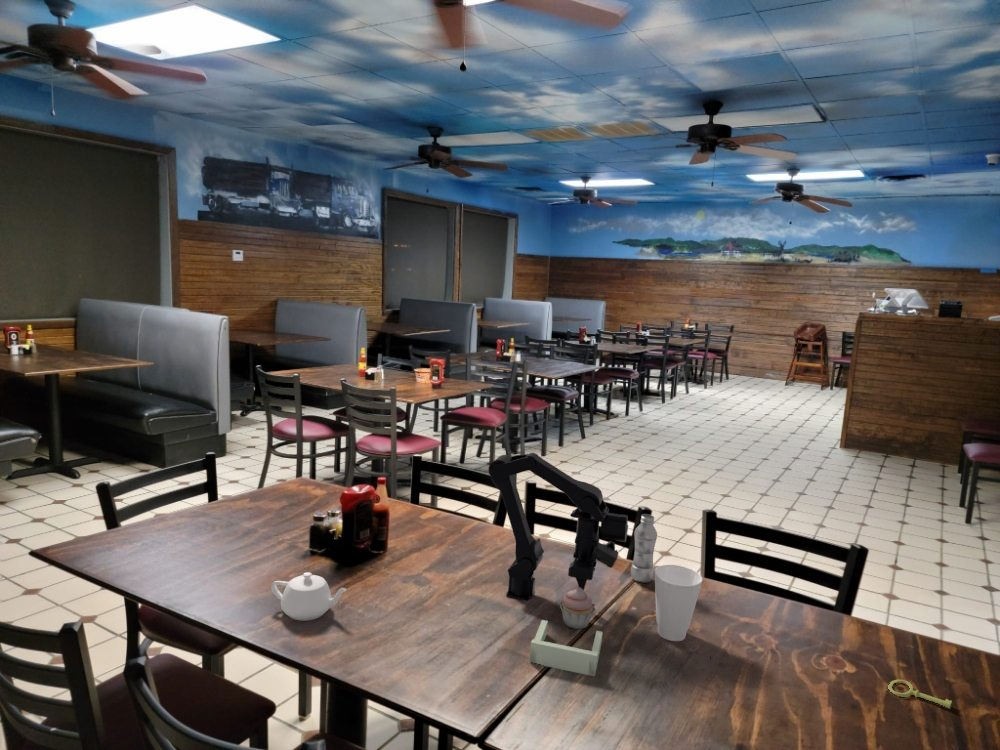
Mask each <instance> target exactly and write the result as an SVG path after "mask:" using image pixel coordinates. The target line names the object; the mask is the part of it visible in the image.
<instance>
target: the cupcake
mask: <svg viewBox="0 0 1000 750" xmlns="http://www.w3.org/2000/svg"><path fill="white" fill-rule="evenodd" d="M558 603H559V605H560V606H559V608H560V609H561V613H562V619H563V623H564V624H566V625H565V626H566V627H568V628H570V627H571V629H573V628H574V630H584V629H586V628H587V627H588V626H589V624H590V621H591V618H592V617H593V615H594V613H595V612H596V610H597V609H596V608H595V606H596V605H595V604H594V603H593V599H592V597H591V595H590V594H589V593H588V592H587V591H586V590H585V589H584V590H583V589H582V588H580V587H579V586H577V587H576V588H575V589H571V590H569V591H567V593H565V594H564V595H563V597H562V601H559V602H558Z"/></svg>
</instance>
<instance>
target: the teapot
mask: <svg viewBox="0 0 1000 750" xmlns="http://www.w3.org/2000/svg"><path fill="white" fill-rule="evenodd" d="M278 586H283V587H285V588H284V591H283V593H282V592H281V591H280V590H279V588H278ZM270 587H271V591H272V593H273V594H274V596H276V598H277V599H278V600H280V607H281V610H282V612H284V614H286V615H287V616H288V617H289V618H291V619H292V620H295V621H301V622H302V621H303V622H304V621H305V622H306V621H312V620H315V619H318V618H321V617H322V616H323V615H324V614H325V613H326V612H327V611H328V610H329V609H330V608H332V607H335V605H336V604H337V603H338V602H339V600H340V598H341V596H342V595H343V593H344V592H346V591H347V588H345V587H340V588H339V589H338V591H337V592H336V594H335V595H334V597H333V596H332V593H331V589H330V586H329V585H328V582H327V581H326V579H325V578H324V577H323V576H320V575H317V574H312V573H311V572H304V573H303V574H301V575H299V576H295V577H293V578H292V579H290V580H289V581H283V580H275V581H273V582H272V583H271V585H270Z"/></svg>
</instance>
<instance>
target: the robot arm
mask: <svg viewBox="0 0 1000 750" xmlns="http://www.w3.org/2000/svg"><path fill="white" fill-rule="evenodd" d="M528 471H530V472H531V473H533V474H535V475H536V476H537V477H539V478H540V479H542V480H544V481H546V482H547V483H548V484H550V485H551V486H553V487H555V488H556V489H558V490H560V491H561V492H562V493H563V494H565V495H566V496H567V497H568V498H569V499H570V500H571V503H573V504H574V505H575V506H576V508H575V509H574V510H572V512H571V513H570V514H569V516H570V518H575V519H577V520H576V521H577V523H576V532H575V533H576V534H575V537H574V544H575V545H574V546H575V547H574V552H573V555H572V557H573V560H572V562H570V564H569V568H568V571H567V573H568V574H567V576H568V577H569V578H570V577H571V578H575V580H576V583H577V587H580V588H582V589H583V590H584V591H585V587H586V585H587V581H592V580H593V578H594V574H595V573H594V572H595V570H596V567H597V561H598V562H600V563H602V564H604V565H605V566H606V567H608V568H611V569H612V568H613V567H614V565H615V563H616V561H617V559H618V557H619V552H618V549H616V543H615V542H613V541H619V542H624V543H626V541H627V537H628V530H629V524H628V523H629V522H628V517H629V516H628V515H627V514H618V513H613V512H609V511H610V508H609V507H608V506H607V504H606V502H605V501H604V499H603V498H604V497H603V492H602V491H601V489H600V488H599V487H598V486H595V485H593V484H590V483H588V482H585V481H581V480H577V479H575V478H573V477H572V476H571V475H569V474H568V473H566V472H564V471H562V470H561V469H559V468H557V467H556V466H554V465H553V464H551V463H549V462H548V461H547V460H545V459H544V458H542V457H540V456H539V455H538V453H535V452H530V453H525V454H516V455H512V456H510V455H508V454H502V455H500V456H498V457H497V458H495V459H494V460H493V461H492V462H491V463H490V464H489V467H488V473H489V476H490V479H491V480H492V483H493V484H494V486H495V487H496V488H497V489H498V490H499V491H500V494H501V497H502V500H503V503H504V507H505V510H506V513H507V517H508V520H509V522H510V527H511V530H512V533H513V536H514V540H515V550H514V551H515V553H514V554H515V559H514V561H513V562H512V563H511V565H510V566H509V568H508V569H507V572H508V576H509V577H508V588H507V592H506V597H509V598H515V599H519V600H526V601H530V599H531V597H532V596H533V595H534V593H535V587H536V577H534V575H535V574H534V573H535V571H537V568H538V567H539V565H540V564H541V562H542V561H543V557H544V552H545V550H544V549H543V547H542V541H541V538H537V539H535V538H534V536H533V535H532V534H531V529H530V526H529V524H528V520H527V517H526V513H525V510H524V507H523V503H522V500H521V496H520V494H519V490H518V487H517V481H518V480H517V479H518V478H517V475H518V474H520V473H523V472H528ZM599 530H600V531H599ZM599 534H601V537H603V539H607V540H610V541H608V542H606V543H605V542H603V543H601V542H600V537H599ZM611 540H612V541H611Z"/></svg>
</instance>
